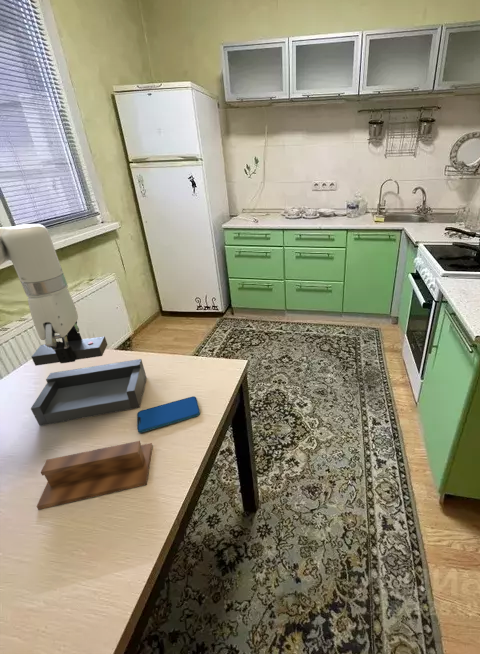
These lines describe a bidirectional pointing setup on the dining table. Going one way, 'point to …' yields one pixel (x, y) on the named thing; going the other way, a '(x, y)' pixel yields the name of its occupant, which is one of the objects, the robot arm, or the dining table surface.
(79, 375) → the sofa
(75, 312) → the robot arm
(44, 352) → the remote
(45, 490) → the stepped wooden stand
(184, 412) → the smartphone
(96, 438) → the dining table surface
